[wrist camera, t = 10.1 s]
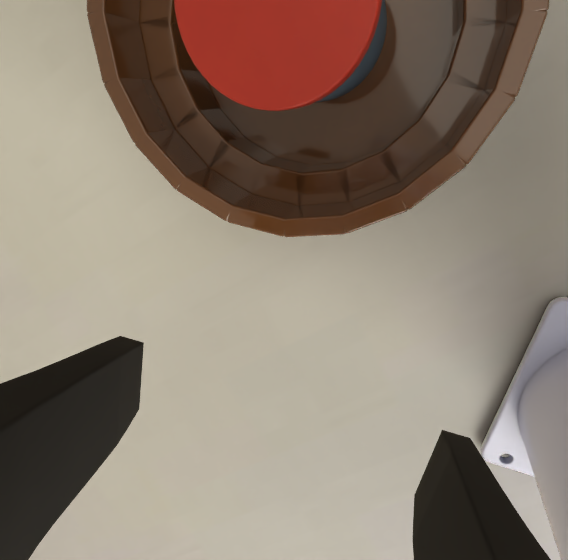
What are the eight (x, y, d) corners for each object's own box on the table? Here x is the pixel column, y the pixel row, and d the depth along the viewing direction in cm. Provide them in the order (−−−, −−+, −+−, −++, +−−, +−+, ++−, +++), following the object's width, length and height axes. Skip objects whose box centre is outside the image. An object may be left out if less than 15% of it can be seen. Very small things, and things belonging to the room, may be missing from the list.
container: (410, -46, 14) (410, -125, 9) (369, 119, 16) (349, 130, 11) (260, -69, 15) (182, -155, 10) (239, 91, 17) (164, 89, 12)
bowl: (583, -174, 13) (662, -300, 9) (441, 239, 18) (449, 281, 14) (177, -217, 15) (88, -336, 11) (151, 166, 20) (84, 184, 16)
